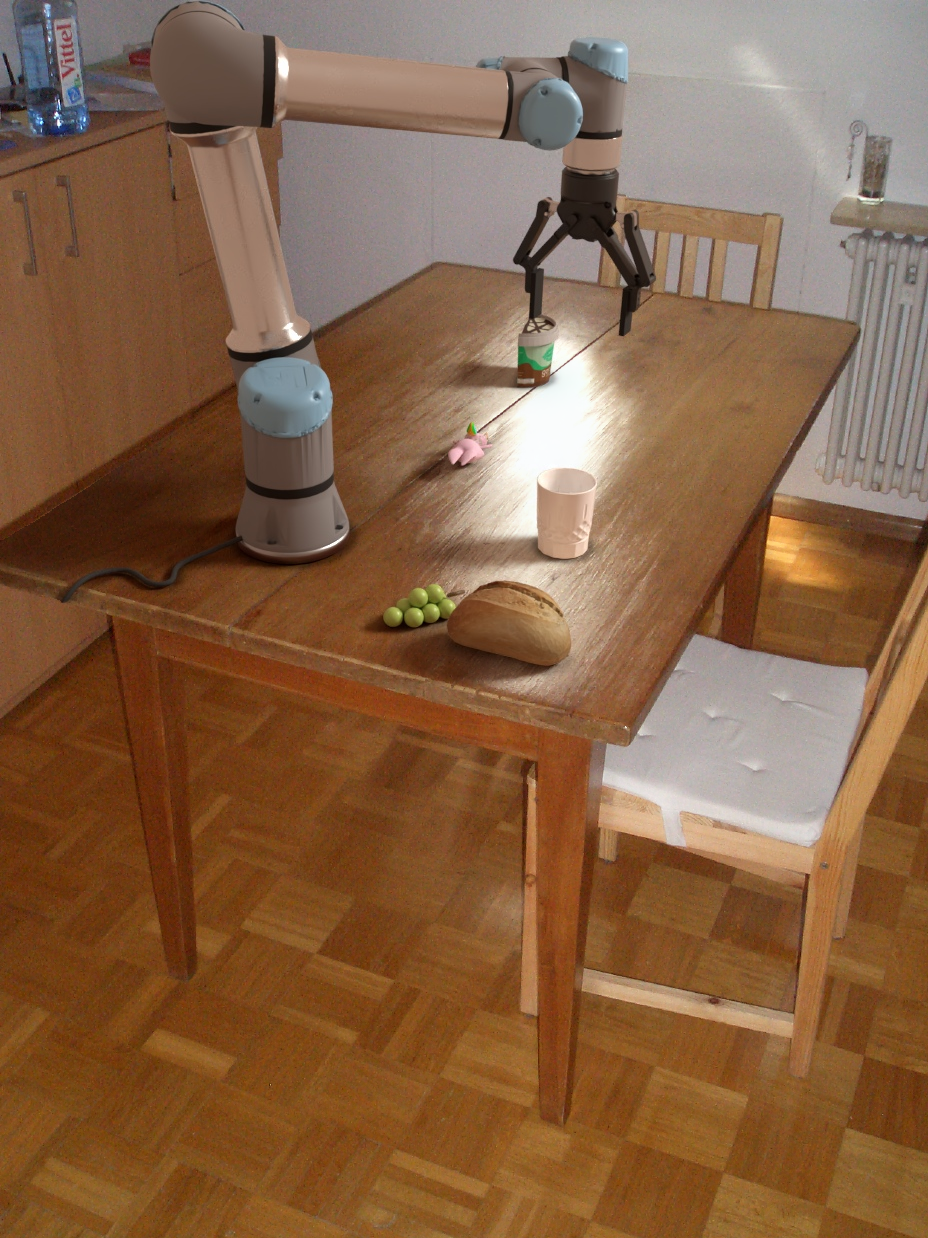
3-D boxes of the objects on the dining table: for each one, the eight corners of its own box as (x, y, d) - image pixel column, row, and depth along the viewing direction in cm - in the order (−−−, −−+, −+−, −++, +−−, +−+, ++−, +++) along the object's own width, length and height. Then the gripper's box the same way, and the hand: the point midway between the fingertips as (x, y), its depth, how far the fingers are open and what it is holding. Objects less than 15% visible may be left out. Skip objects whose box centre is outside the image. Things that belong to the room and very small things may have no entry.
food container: (550, 393, 217) (554, 337, 212) (515, 390, 218) (518, 334, 212) (560, 368, 227) (564, 313, 222) (526, 364, 228) (529, 310, 223)
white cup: (593, 562, 168) (599, 494, 163) (534, 560, 168) (538, 493, 163) (589, 534, 175) (594, 468, 169) (532, 532, 175) (536, 466, 169)
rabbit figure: (459, 447, 201) (436, 473, 187) (461, 410, 198) (437, 433, 185) (497, 452, 200) (477, 478, 186) (500, 415, 197) (479, 438, 184)
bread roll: (460, 617, 156) (461, 561, 151) (579, 638, 152) (583, 581, 148) (436, 659, 148) (437, 601, 144) (561, 682, 144) (565, 623, 140)
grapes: (392, 637, 152) (392, 607, 149) (376, 618, 155) (375, 588, 153) (473, 615, 156) (474, 586, 154) (455, 597, 160) (456, 568, 157)
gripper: (690, 174, 164) (672, 332, 176) (517, 150, 174) (510, 301, 185) (671, 186, 159) (653, 348, 170) (493, 160, 168) (487, 316, 179)
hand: (579, 324), depth 178 cm, fingers open, 13 cm apart
